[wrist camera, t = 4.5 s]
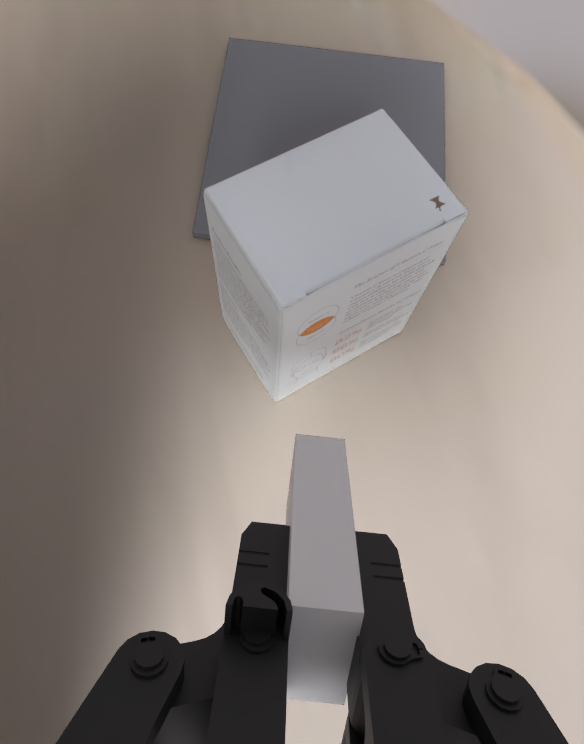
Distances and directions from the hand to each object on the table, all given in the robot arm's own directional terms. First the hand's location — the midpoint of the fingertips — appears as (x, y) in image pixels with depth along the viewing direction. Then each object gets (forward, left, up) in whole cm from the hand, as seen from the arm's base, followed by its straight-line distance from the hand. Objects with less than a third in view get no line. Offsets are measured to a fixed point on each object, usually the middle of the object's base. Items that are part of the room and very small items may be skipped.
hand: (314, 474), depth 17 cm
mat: (0, +22, -9) cm, 23 cm away
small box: (0, +9, -9) cm, 13 cm away
